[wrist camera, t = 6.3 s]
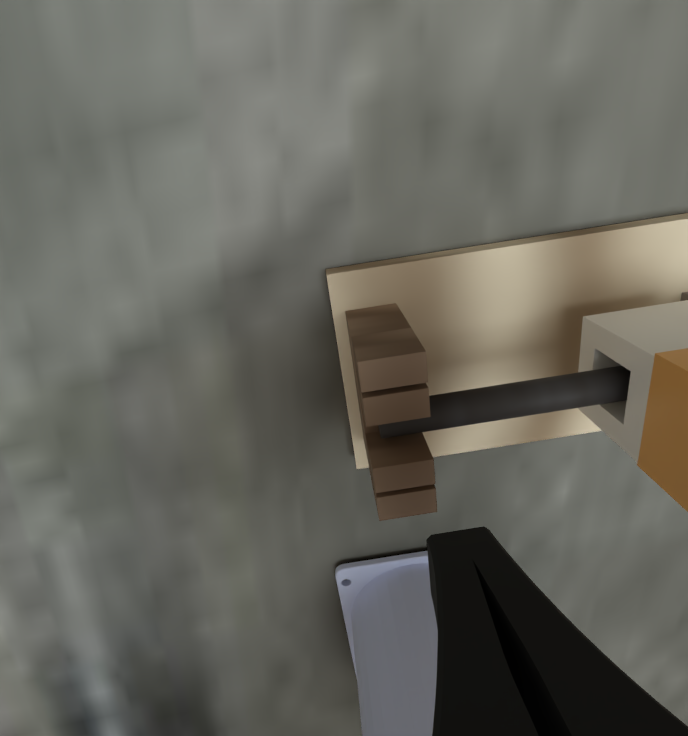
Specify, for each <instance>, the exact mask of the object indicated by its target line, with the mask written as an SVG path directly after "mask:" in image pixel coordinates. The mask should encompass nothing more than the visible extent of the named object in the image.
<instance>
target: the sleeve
mask: <svg viewBox="0 0 688 736" xmlns="http://www.w3.org/2000/svg"><path fill="white" fill-rule="evenodd" d="M616 366H623V367H625V368H626V369H628V370H630V371H631V373H630V381H629V388H628V395H627V400H625V401H618V402H612V403H606V404H599V405H593V406H587V407H580V408H578V409H579V410H580V411H581V412H582V413H584V414H585V415H586V416H587V417H588V418H589V419H590V420H591V421H592V422H593V423H594V424H596V425H597V426H598V427H599V428H600V429H601V430H602V431H603V432H604V433H605V434H607V435H608V436H609V437H610V438H611V439H612V440H613V441H614V442H615V443H616V444H618V445H619V446H620V447H621V448H622V449H623V450H624V451H625V452H626V453H627V454H628V455H630V456H631V457H632V458H633V459H634V460H635V461H636V462H637V463H638V464H637V466H639V467H640V468H641V469H642V470H643V471H644V472H645V473H646V474H647V475H648V476H649V477H650V478H652V479H653V480H654V481H655V482H656V483H657V484H658V485H659V486H660V487H661V488H662V489H664V490H665V491H666V492H667V493H668V494H669V495H670V496H671V497H672V498H673V499H674V500H675V501H677V502H678V503H679V504H680V505H681V506H682V507H683V508H684V509H685V510H686V511H687V512H688V300H685V301H679V302H672V303H666V304H659V305H653V306H647V307H640V308H634V309H627V310H621V311H615V312H608V313H602V314H595V315H589V316H583V322H582V334H581V345H580V357H579V369H578V372H584V371H590V370H597V369H603V368H609V367H616Z"/></svg>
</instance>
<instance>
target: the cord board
mask: <svg viewBox="0 0 688 736" xmlns="http://www.w3.org/2000/svg"><path fill="white" fill-rule="evenodd" d="M326 276H327V282H328V288H329V295H330V301H331V308H332V314H333V320H334V327H335V333H336V339H337V346H338V352H339V358H340V365H341V371H342V378H343V384H344V390H345V397H346V403H347V409H348V416H349V422H350V428H351V435H352V441H353V448H354V454H355V460H356V467H357V469H361V468H368V467H369V469H370V475H371V480H372V485H373V490H374V495H375V500H376V505H377V510H378V515H379V521H382V520H388V519H395V518H401V517H407V516H414V515H420V514H426V513H433V512H437V501H436V488H435V486H434V484H435V472H434V459H433V457H438V456H444V455H450V454H457V453H463V452H469V451H476V450H482V449H488V448H495V447H501V446H507V445H514V444H520V443H527V442H533V441H539V440H546V439H552V438H558V437H565V436H571V435H577V434H584V433H590V432H596V431H602V430H601V429H600V428H599V427H598V426H597V425H596V424H594V423H593V422H592V421H591V420H590V419H589V418H588V417H587V416H586V415H585V414H584V413H582V412H581V411H580V410H579V409H578V408H580V407H587V406H593V405H599V404H606V403H612V402H618V401H625V400H627V395H628V388H629V381H630V373H631V371H630V370H628V369H626V368H625V367H623V366H616V367H609V368H603V369H597V370H590V371H584V372H578V369H579V357H580V345H581V334H582V322H583V316H589V315H595V314H602V313H608V312H615V311H621V310H627V309H634V308H640V307H647V306H653V305H659V304H666V303H672V302H679V301H685V300H688V213H684V214H678V215H671V216H665V217H659V218H652V219H646V220H639V221H633V222H626V223H620V224H613V225H607V226H601V227H594V228H588V229H581V230H575V231H568V232H562V233H556V234H549V235H543V236H536V237H530V238H523V239H517V240H510V241H504V242H498V243H491V244H485V245H478V246H472V247H465V248H459V249H452V250H446V251H440V252H433V253H427V254H420V255H414V256H407V257H401V258H394V259H388V260H382V261H375V262H369V263H362V264H356V265H349V266H343V267H337V268H330V269H326Z"/></svg>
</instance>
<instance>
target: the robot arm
mask: <svg viewBox="0 0 688 736" xmlns="http://www.w3.org/2000/svg"><path fill="white" fill-rule="evenodd" d="M427 550H428V551H422V552H415V553H409V554H403V555H396V556H390V557H384V558H377V559H371V560H365V561H358V562H352V563H346V564H341V565H339V566H338V567H337V568H336V569H335V577H336V582H337V586H338V591H339V596H340V601H341V606H342V611H343V616H344V620H345V625H346V630H347V635H348V640H349V645H350V649H351V654H352V659H353V664H354V669H355V674H356V677H357V684H358V695H359V706H360V717H361V728H362V736H688V726H686V725H685V724H684V723H683V722H682V721H680V720H679V719H678V718H677V717H676V716H674V715H673V714H672V713H671V712H670V711H668V710H667V709H666V708H665V707H663V706H662V705H661V704H660V703H659V702H657V701H656V700H655V699H654V698H653V697H652V696H650V695H649V694H648V693H647V692H646V691H645V690H644V689H642V688H641V687H640V686H639V685H638V684H637V683H635V682H634V681H633V680H632V679H631V678H630V677H629V676H627V675H626V674H625V673H624V672H623V671H622V670H621V669H620V668H619V667H617V666H616V665H615V664H614V663H613V662H612V661H611V660H610V659H609V658H608V657H607V656H606V655H605V654H603V653H602V652H601V651H600V650H599V649H598V648H597V647H596V646H595V645H594V644H593V643H592V642H591V641H590V640H589V639H588V638H587V637H586V636H585V635H584V634H583V633H582V632H581V631H579V630H578V629H577V628H576V627H575V626H574V624H573V623H572V622H571V621H570V620H569V619H568V618H567V617H566V616H565V615H564V614H563V613H562V612H561V611H560V610H559V609H558V608H557V607H556V606H555V605H554V604H553V603H552V602H551V601H550V600H549V599H548V598H547V597H546V596H545V594H544V593H543V592H542V591H541V590H540V589H539V588H538V587H537V586H536V585H535V584H534V583H533V581H532V580H531V579H530V578H529V577H528V576H527V575H526V574H525V573H524V571H523V570H522V569H521V568H520V567H519V566H518V565H517V563H516V562H515V561H514V560H513V559H512V558H511V556H510V555H509V554H508V553H507V552H506V550H505V549H504V548H503V547H502V546H501V544H500V543H499V542H498V541H497V539H496V538H495V537H494V536H493V534H492V533H491V532H490V530H489V529H487V528H486V527H478V528H472V529H466V530H459V531H453V532H447V533H440V534H434V535H431V536H430V537H429V538H428V539H427ZM345 579H348V580H345Z"/></svg>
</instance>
